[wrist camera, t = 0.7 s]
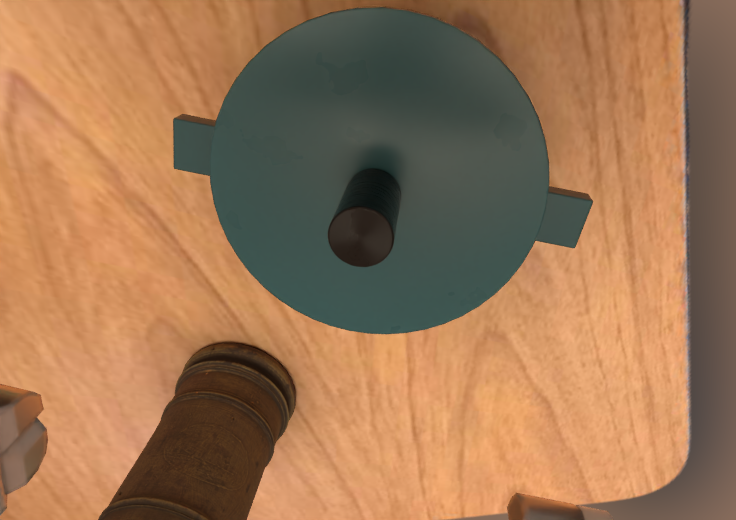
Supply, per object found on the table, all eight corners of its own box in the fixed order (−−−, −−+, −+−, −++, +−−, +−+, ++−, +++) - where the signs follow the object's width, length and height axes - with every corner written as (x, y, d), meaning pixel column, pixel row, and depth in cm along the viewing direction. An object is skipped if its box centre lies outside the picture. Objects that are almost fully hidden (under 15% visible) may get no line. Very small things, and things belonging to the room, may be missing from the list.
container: (176, 339, 41) (10, 563, 25) (290, 342, 40) (192, 579, 24) (198, 426, 45) (68, 667, 29) (302, 432, 44) (226, 685, 28)
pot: (242, -20, 29) (163, -23, 21) (589, 45, 28) (653, 71, 20) (231, 208, 35) (167, 278, 27) (514, 265, 35) (539, 354, 26)
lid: (225, -26, 21) (157, -30, 16) (595, 44, 20) (647, 64, 15) (214, 289, 28) (164, 357, 23) (491, 346, 27) (504, 428, 22)
